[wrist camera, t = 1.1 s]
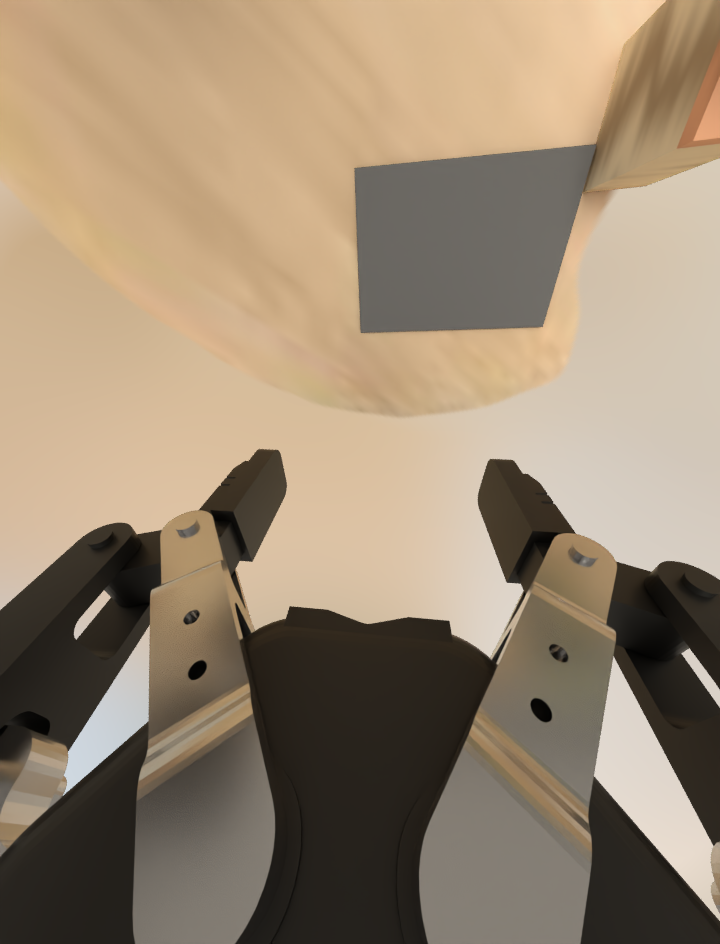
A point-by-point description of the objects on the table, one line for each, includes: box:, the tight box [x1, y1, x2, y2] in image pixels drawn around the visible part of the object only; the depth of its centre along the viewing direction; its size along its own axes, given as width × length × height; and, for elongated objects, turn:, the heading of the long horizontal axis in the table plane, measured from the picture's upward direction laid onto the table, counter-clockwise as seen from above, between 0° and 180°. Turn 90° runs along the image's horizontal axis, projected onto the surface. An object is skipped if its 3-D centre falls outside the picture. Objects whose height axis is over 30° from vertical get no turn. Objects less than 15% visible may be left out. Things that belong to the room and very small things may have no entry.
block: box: [582, 0, 720, 193], centre depth 16 cm, size 7×4×10 cm, turn 3°
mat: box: [355, 144, 597, 333], centre depth 25 cm, size 12×18×1 cm, turn 92°
